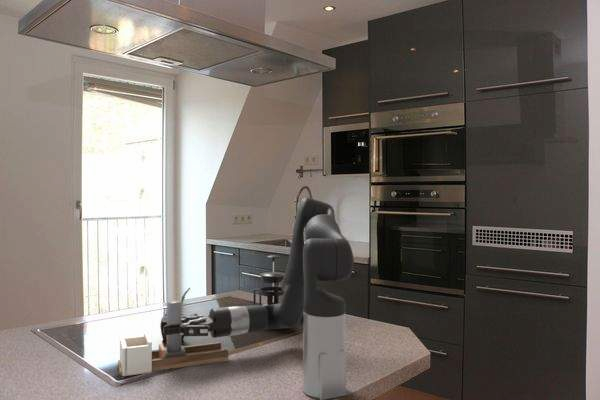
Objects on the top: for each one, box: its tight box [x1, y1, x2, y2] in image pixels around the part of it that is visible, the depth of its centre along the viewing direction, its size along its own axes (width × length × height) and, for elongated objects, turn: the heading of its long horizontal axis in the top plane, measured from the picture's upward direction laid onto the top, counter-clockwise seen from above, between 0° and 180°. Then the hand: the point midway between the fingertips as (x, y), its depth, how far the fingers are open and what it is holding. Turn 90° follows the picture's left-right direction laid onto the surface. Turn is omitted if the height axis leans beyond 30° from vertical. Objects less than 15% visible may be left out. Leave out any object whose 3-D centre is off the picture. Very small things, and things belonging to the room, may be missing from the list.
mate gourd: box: [159, 287, 191, 344], centre depth 135 cm, size 8×8×15 cm
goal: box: [119, 331, 153, 377], centre depth 114 cm, size 9×6×7 cm
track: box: [117, 341, 229, 377], centre depth 118 cm, size 8×26×2 cm, turn 115°
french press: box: [253, 254, 285, 331], centre depth 153 cm, size 12×9×23 cm
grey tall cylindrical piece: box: [158, 300, 186, 358], centre depth 118 cm, size 6×6×14 cm
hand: (162, 328), depth 117 cm, fingers closed on grey tall cylindrical piece, 3 cm apart
